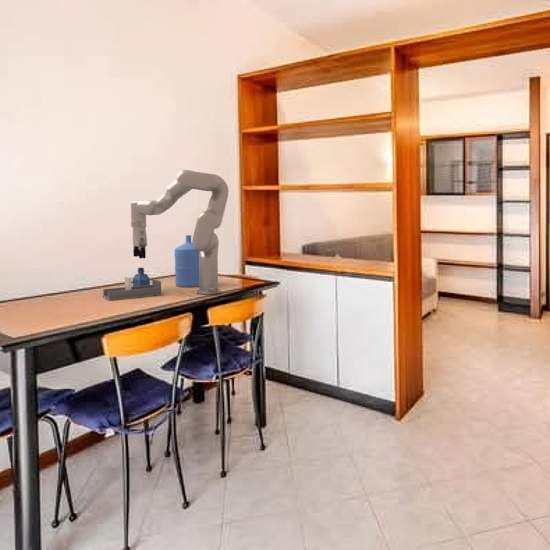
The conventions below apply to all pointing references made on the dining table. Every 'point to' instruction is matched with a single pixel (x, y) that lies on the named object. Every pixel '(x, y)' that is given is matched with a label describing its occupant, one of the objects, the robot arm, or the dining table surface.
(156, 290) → the tray
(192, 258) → the water jug
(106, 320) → the dining table surface
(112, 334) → the dining table surface
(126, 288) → the pusher
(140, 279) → the perfume bottle
